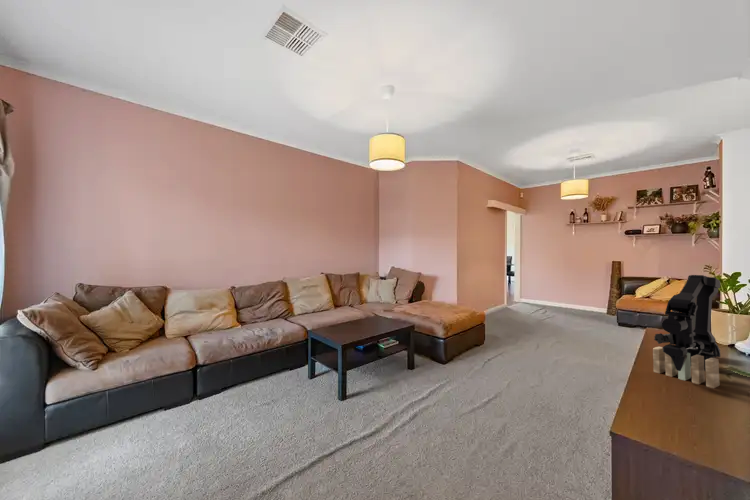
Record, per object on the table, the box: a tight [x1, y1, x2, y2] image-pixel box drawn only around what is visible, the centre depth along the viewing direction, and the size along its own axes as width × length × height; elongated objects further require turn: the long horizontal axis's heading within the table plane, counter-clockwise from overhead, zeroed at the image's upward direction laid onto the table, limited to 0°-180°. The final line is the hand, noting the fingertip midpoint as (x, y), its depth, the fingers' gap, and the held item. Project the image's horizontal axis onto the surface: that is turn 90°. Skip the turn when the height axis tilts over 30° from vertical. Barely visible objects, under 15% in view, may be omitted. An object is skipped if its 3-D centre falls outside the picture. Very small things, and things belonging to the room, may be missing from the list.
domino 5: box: [705, 357, 720, 389], centre depth 117 cm, size 2×5×10 cm, turn 115°
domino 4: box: [691, 355, 706, 385], centre depth 121 cm, size 2×5×10 cm, turn 116°
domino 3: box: [677, 353, 692, 381], centre depth 124 cm, size 2×5×10 cm, turn 115°
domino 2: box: [665, 353, 678, 378], centre depth 128 cm, size 2×5×10 cm, turn 115°
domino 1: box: [652, 346, 666, 375], centre depth 131 cm, size 2×5×10 cm, turn 115°
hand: (684, 368), depth 124 cm, fingers open, 9 cm apart
